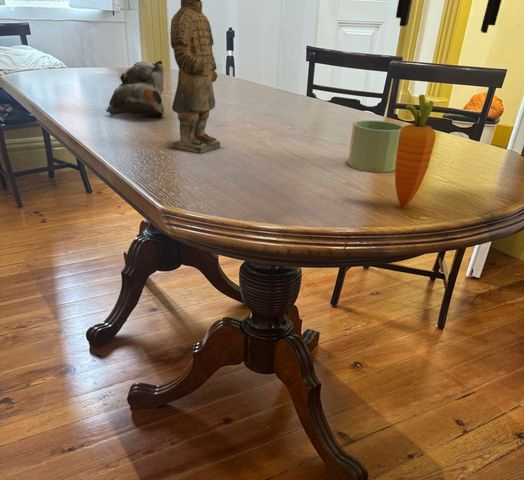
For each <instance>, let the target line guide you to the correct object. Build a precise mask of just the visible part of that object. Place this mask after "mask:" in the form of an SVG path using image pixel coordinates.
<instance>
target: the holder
mask: <svg viewBox="0 0 524 480" xmlns="http://www.w3.org/2000/svg"><path fill="white" fill-rule="evenodd" d="M403 127H404V126H403V125H401V124H400V123H396V122H391V121H383V120H373V119H372V120H371V119H370V120H357V121H354V122H353V123H352V128H351V129H352V130H351V136H350V137H351V138H350V144H349V152H348V159H347V160H348V162H347V163H348V164H347V165H348V166H350V167H351V168H353V169H355V170H360V171H364V172H371V173H390V172H395V162H396V155H397V147H398V141H399V135H400V131H401V129H402V128H403Z"/></svg>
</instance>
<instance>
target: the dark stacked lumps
mask: <svg viewBox="0 0 524 480" xmlns="http://www.w3.org/2000/svg"><path fill="white" fill-rule="evenodd" d="M164 71H165V70H164V66H163V62H162V60H158V61H156V62H155V63H153V62H149V61H138V62H135V63H134V64H133V65H132V66H131V67H128V69H127V70H126V71H125V72H122V73H121V75H120V77H119V80H120V81H121V82H122V83H121V84H120V85H118V87H116V88H115V89H114V91H113V94H112V95H111V97H110V100H109V102H108V107H107V108H106V109H105V111H106V113H109V114H110V115H111V116H113V115H122V114H127V115H129V114H130V115H147V116H149V115H150V116H153V117H159V118H163V116H164V114H165V106H164V103H163V98H162V97H163V96H162V94H163V91H164V86H165V85H164V74H165V73H164Z"/></svg>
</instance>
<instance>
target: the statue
mask: <svg viewBox="0 0 524 480" xmlns="http://www.w3.org/2000/svg"><path fill="white" fill-rule="evenodd" d="M170 20H171V21H170V30H169V31H170V32H169V35H170V36H169V37H170V46H171V49H172V50H173V55H174V60H175V63H176V65H177V67H178V75H177V77H178V78H177V85H176V86H177V87H176V90H175V94H174V98H173V101H172V105H171V109H172V111H173V112H175V113H176V114H177V119H178V121H179V136H180V137H179V140H178V141H174V142H173V148H174V149H176V150H177V149H178V150H181V151H182V150H183V151H187V152H193V153H197V154H202V153H205V152H209V151H212V150H215V149H218V148H221V142H220V141H218V140H217V138H215V137H213V136H210V135H209V134H207V133H206V127H207V122H208V119H209V116H210V111H212V110H214V109H215V108H216V98H215V93H214V87H213V86H214V85H213V83H214V82H216V81H217V80H218V79H217V78H218V74H217V71H216V70H217V63H216V59H215V57H214V52H213V46H214V37H213V33H212V28H211V24H210V21H209V19H208V17H207V16H206V15H205V14H204V13H203V1H202V0H180V8H179V9H178V10H177V11H176V13H175V14H174V15H173V17H172V18H171V19H170Z"/></svg>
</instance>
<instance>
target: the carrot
mask: <svg viewBox="0 0 524 480" xmlns="http://www.w3.org/2000/svg"><path fill="white" fill-rule="evenodd" d="M418 103H419V109H416V106H414V105H413V104H411V103H408V104H406V107H405V108H406V109H407V110H408V111H410V113H411V115H412V116H413V119H414V123H411V124H406V125H404V126H403V128H402V129H401V131H400V135H399V141H398V147H397V155H396V162H395V170H394V172H395V173H394V185H395V192H396V196H397V200H398V203H399V205H400V206H401V208H405V207H407V206H408V205H409V204H410V202H411V201H412V200H413V198H414V197H415V196H416V194H417V193H418V191H419V189H420V187H421V185H422V183H423V181H424V178H425V177H426V173H427V170H428V168H429V165H430V161H431V157H432V153H433V150H434V147H435V143H436V138H437V137H436V135H437V134H436V132H435V129H433V128H432V127H431V126H430V125H427V124H426V122H427V121H428V119H429V117H430V115H431V113H432V110H433V107H434V104H435V103H434V102H433V101H432V100H429V102H428V101H427V100H426V95H425V94H420V95H418Z"/></svg>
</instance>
